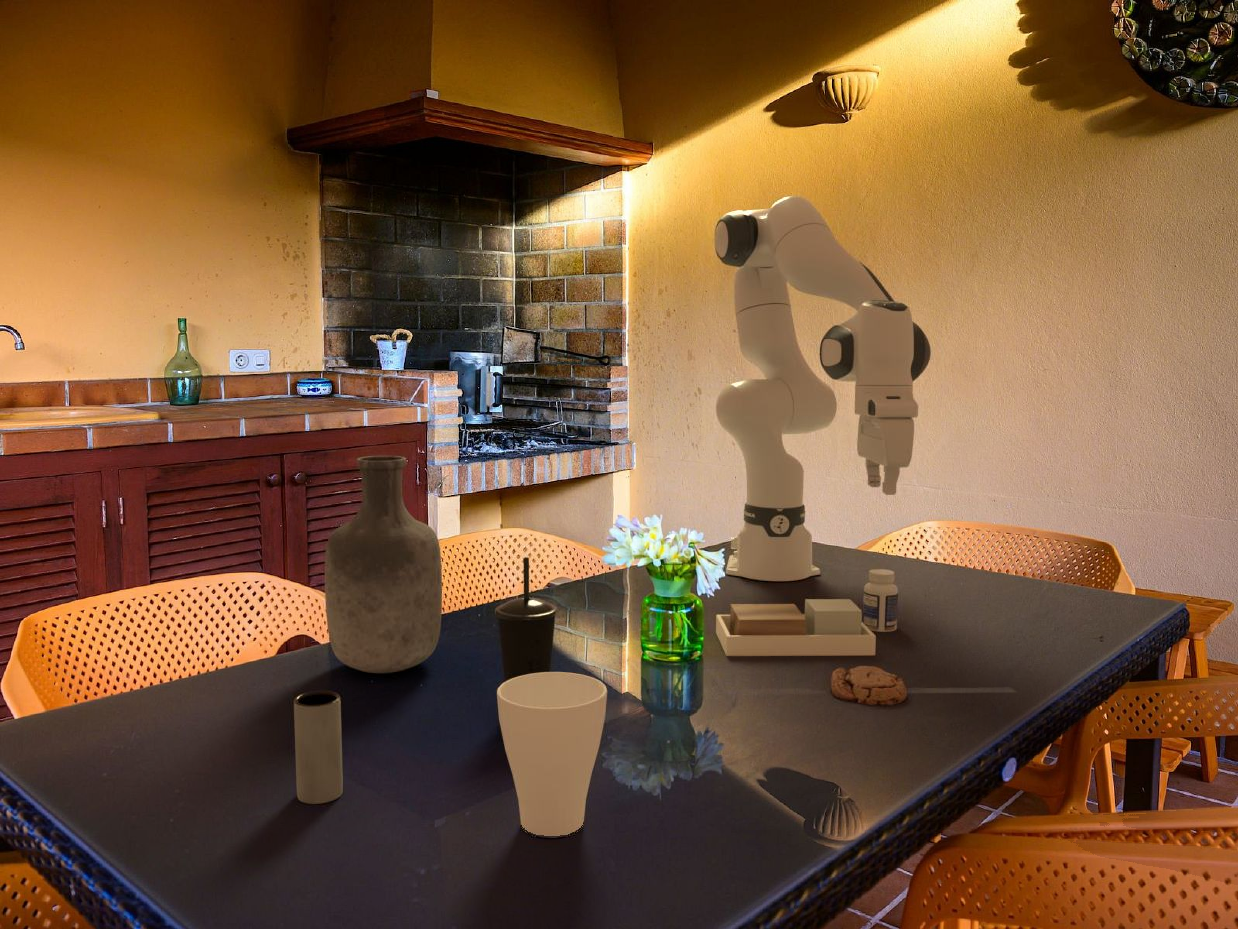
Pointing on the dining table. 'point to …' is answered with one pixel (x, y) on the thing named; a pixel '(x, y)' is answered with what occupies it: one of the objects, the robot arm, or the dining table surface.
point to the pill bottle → (880, 601)
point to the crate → (794, 643)
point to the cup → (552, 745)
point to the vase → (383, 578)
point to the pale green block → (832, 617)
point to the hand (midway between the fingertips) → (881, 490)
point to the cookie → (868, 686)
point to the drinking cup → (526, 633)
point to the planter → (318, 747)
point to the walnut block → (766, 619)
